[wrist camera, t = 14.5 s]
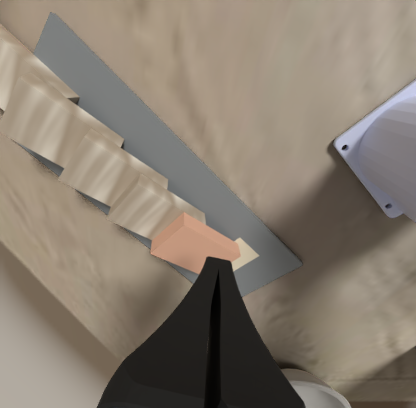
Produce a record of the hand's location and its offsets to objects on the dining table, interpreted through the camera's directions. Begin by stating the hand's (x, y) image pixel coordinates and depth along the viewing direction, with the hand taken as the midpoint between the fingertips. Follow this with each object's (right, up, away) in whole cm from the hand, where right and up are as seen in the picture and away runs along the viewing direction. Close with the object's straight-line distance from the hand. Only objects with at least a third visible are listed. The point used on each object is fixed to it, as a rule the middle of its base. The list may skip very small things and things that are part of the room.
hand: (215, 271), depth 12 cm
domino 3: (-6, +4, +9) cm, 12 cm away
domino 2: (-10, +8, +8) cm, 15 cm away
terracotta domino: (+1, -3, +12) cm, 12 cm away
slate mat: (-5, +4, +10) cm, 12 cm away
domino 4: (-2, +1, +10) cm, 11 cm away
